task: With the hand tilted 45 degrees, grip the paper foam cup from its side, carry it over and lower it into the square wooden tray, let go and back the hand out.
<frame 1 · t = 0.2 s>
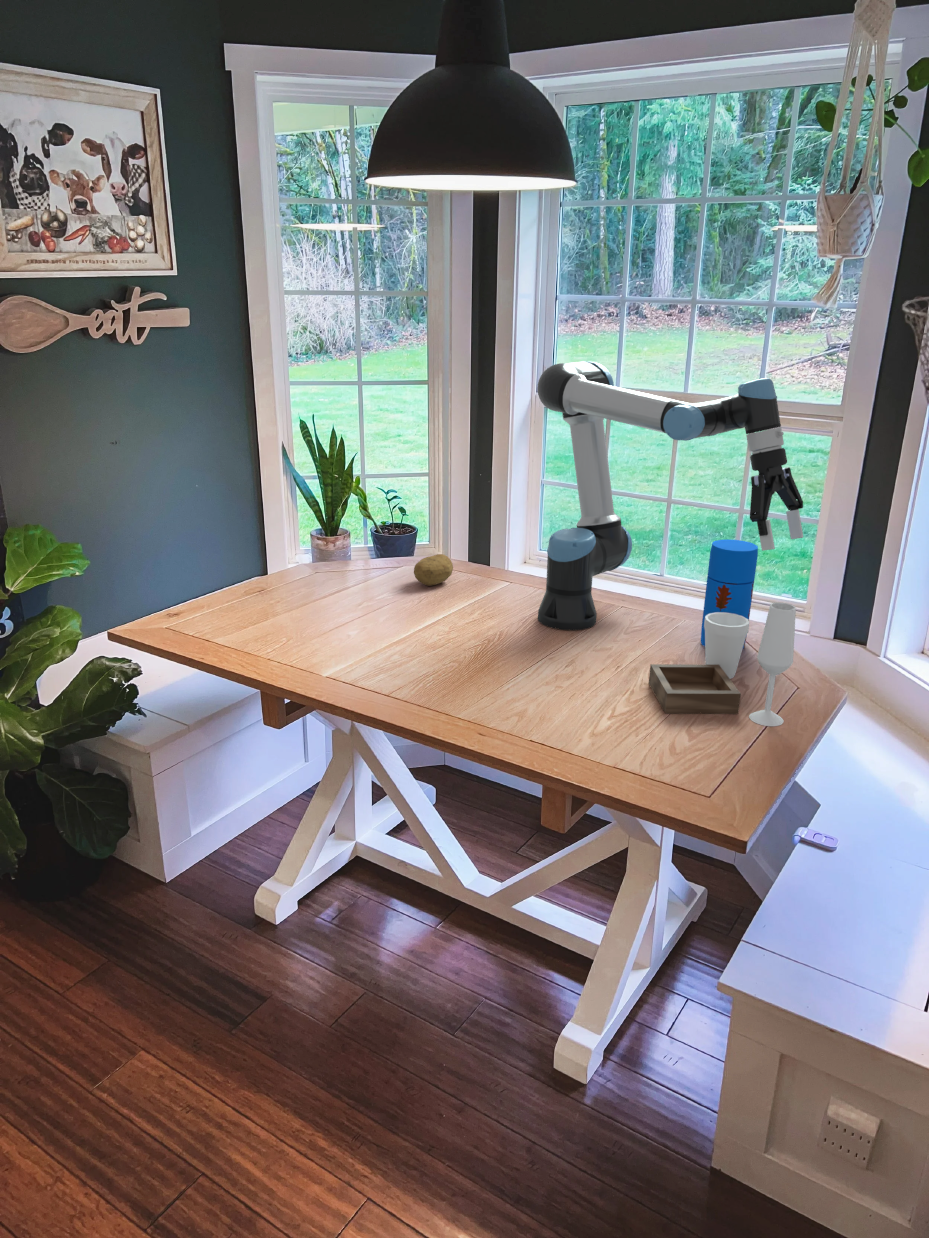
hand: (783, 544, 201), 28 cm above the table, tool tilted 20°, fingers open, 13 cm apart
thermos: (722, 644, 218), on the table
champagne flute: (766, 719, 180), on the table
potato: (432, 584, 259), on the table
square wooden tray: (691, 697, 189), on the table
foam cup: (720, 674, 201), on the table
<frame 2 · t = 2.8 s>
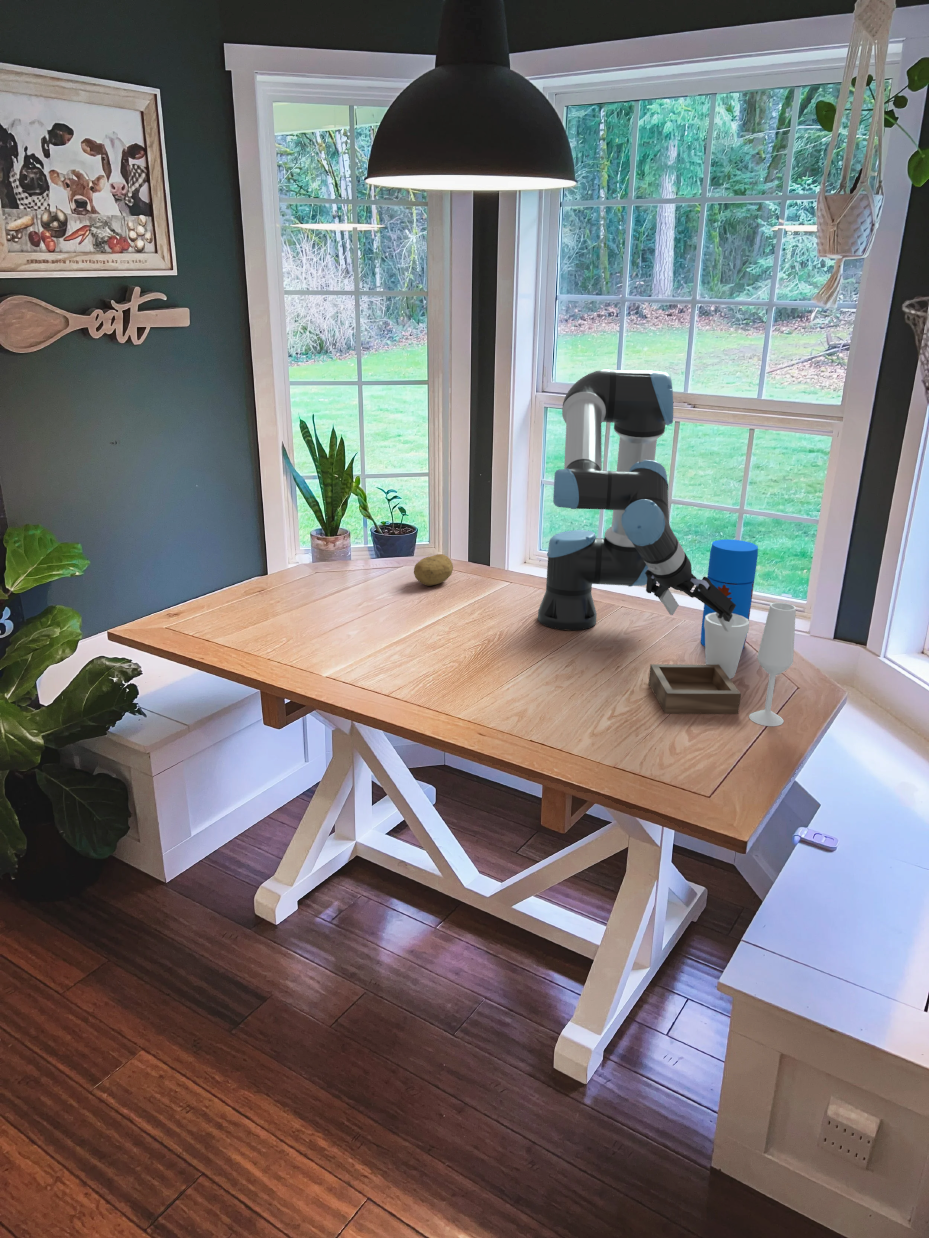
hand: (701, 617, 189), 16 cm above the table, tool tilted 45°, fingers open, 13 cm apart
nothing on the table moved.
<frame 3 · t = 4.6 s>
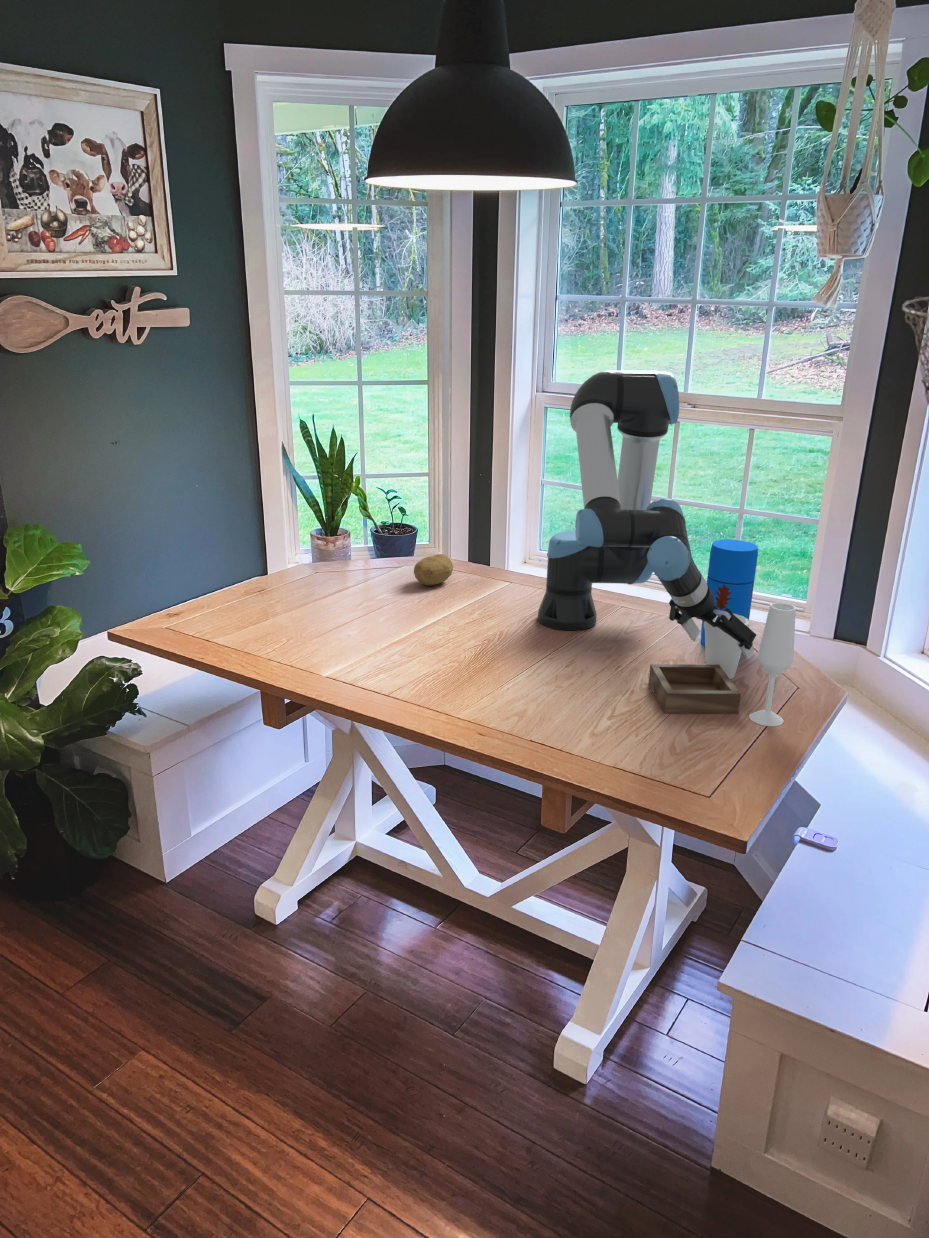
hand: (722, 644, 197), 8 cm above the table, tool tilted 45°, fingers open, 13 cm apart
nothing on the table moved.
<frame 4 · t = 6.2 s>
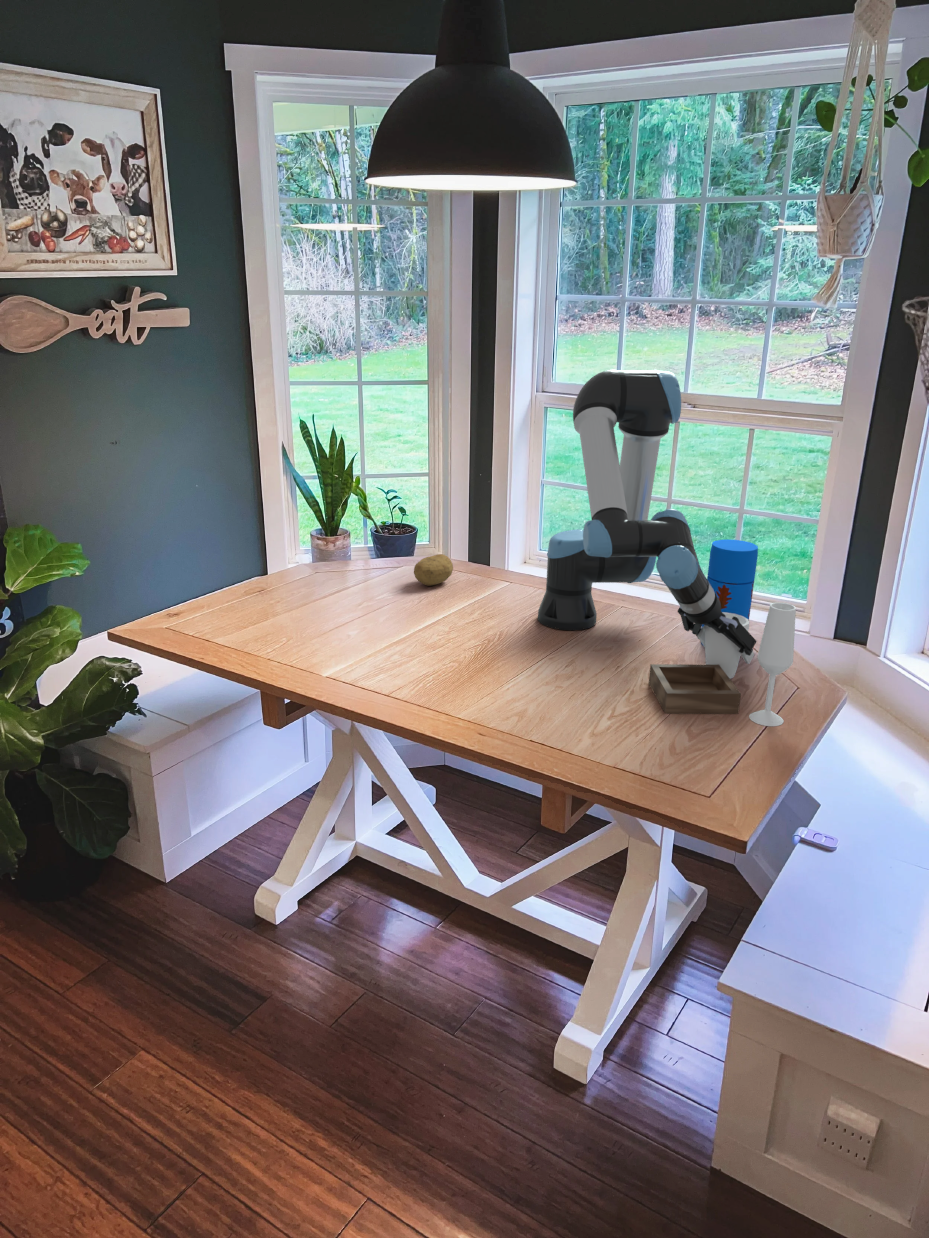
hand: (730, 652, 202), 4 cm above the table, tool tilted 45°, fingers closed on foam cup, 9 cm apart
foam cup: (720, 674, 201), on the table, touching gripper
everything else where it was.
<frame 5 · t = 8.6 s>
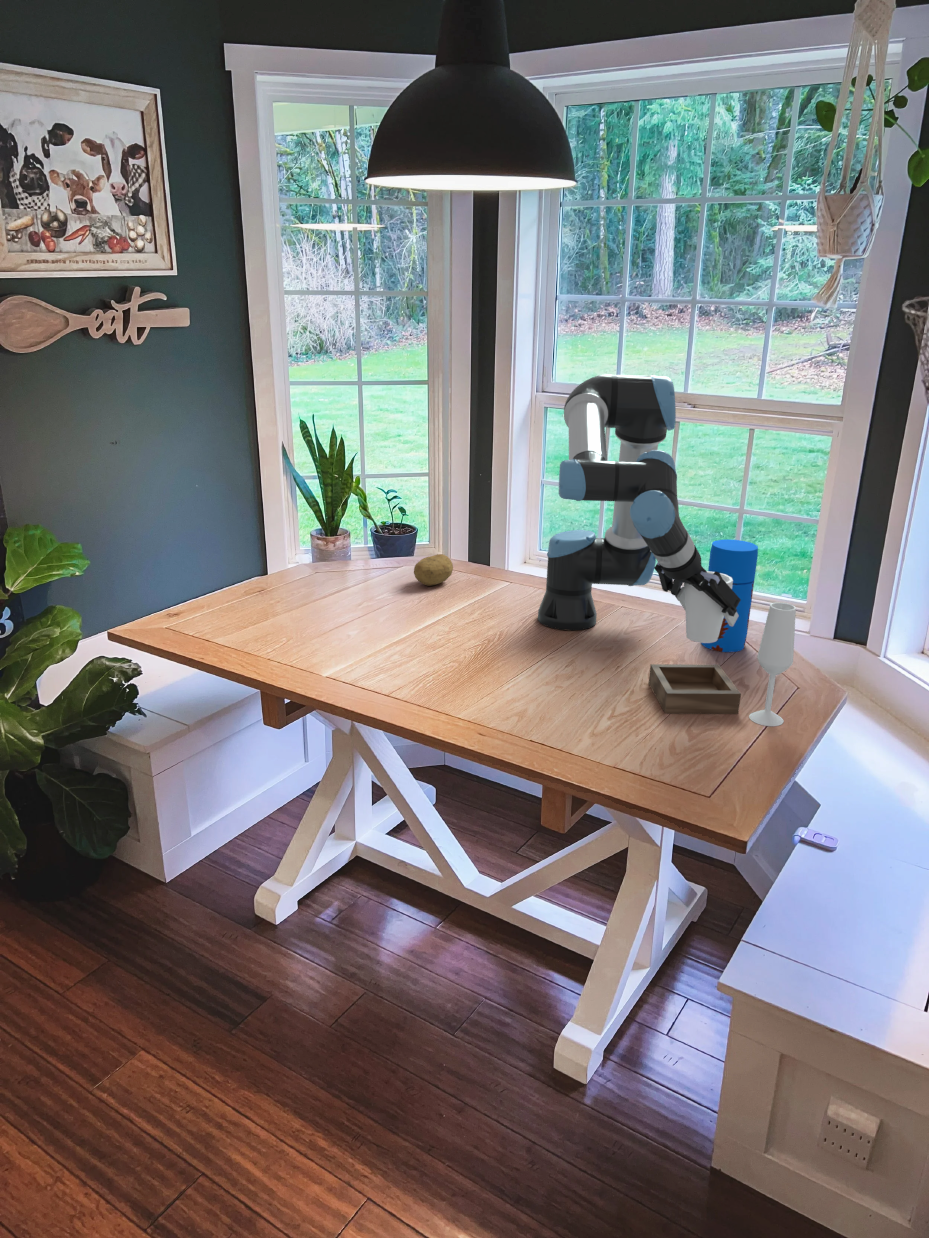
hand: (712, 614, 185), 18 cm above the table, tool tilted 45°, fingers closed on foam cup, 9 cm apart
foam cup: (701, 638, 185), point 13 cm above the table, touching gripper
everything else where it was.
when the fingers open (7 cm above the table, at t = 11.2 s): foam cup drops 1 cm, resting on square wooden tray.
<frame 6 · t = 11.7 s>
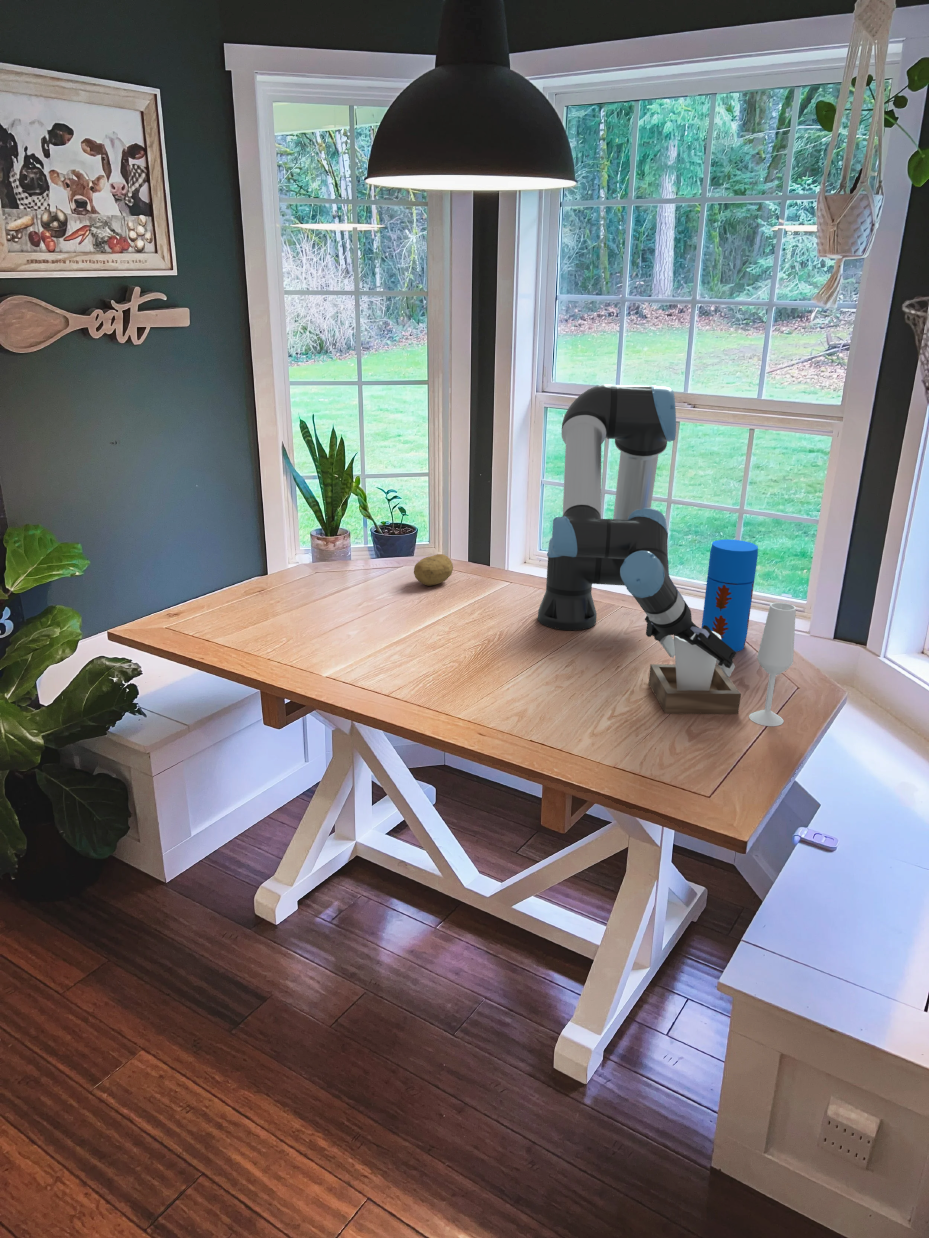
hand: (702, 661, 187), 8 cm above the table, tool tilted 45°, fingers open, 13 cm apart
foam cup: (692, 694, 188), point 1 cm above the table, touching square wooden tray
everything else where it was.
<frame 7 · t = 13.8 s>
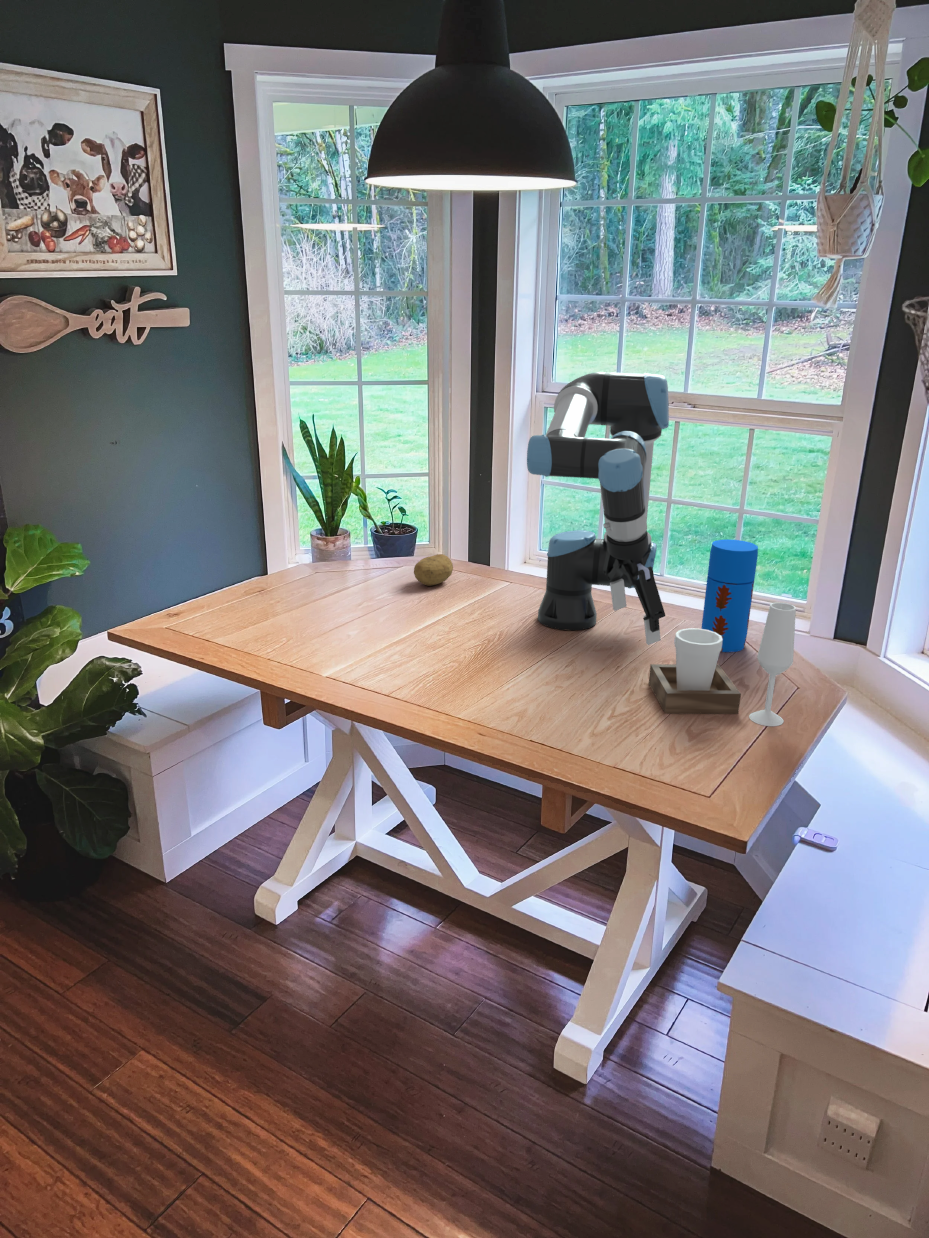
hand: (636, 624, 177), 19 cm above the table, tool tilted 20°, fingers open, 13 cm apart
nothing on the table moved.
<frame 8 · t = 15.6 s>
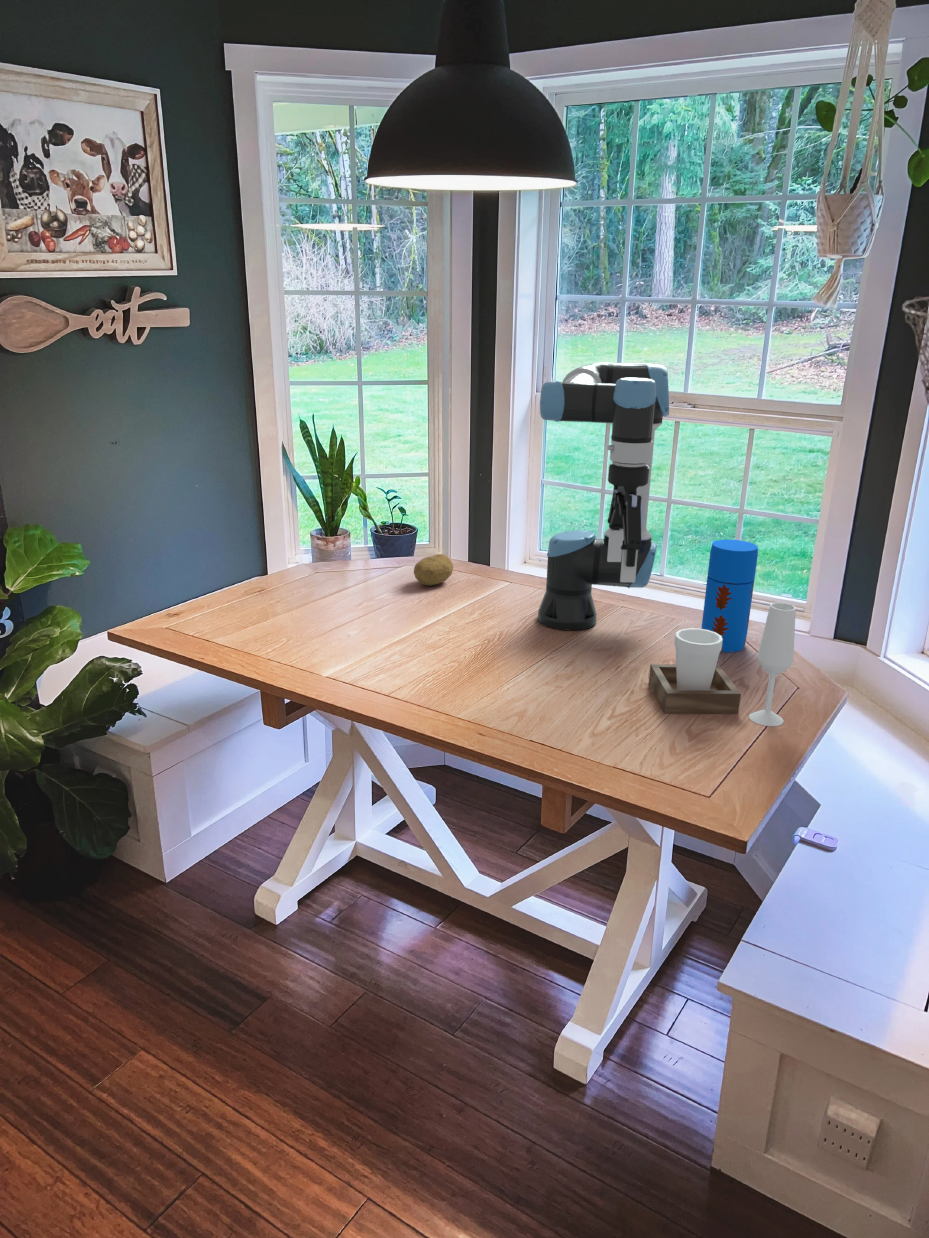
hand: (620, 571, 175), 29 cm above the table, tool pointing down, fingers open, 13 cm apart
nothing on the table moved.
at the end: foam cup 0.1 cm from the square wooden tray (horizontally); foam cup point 0.8 cm above the table; foam cup tilted 0° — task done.
